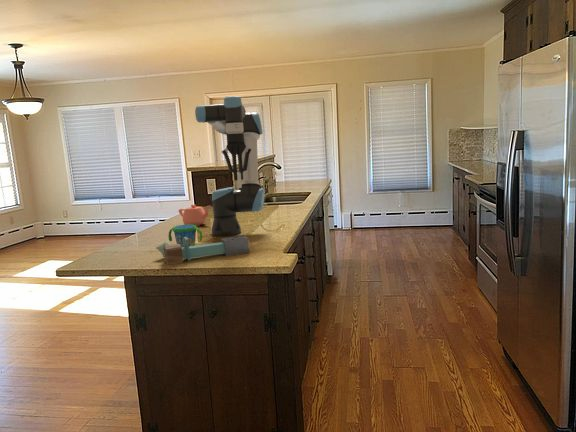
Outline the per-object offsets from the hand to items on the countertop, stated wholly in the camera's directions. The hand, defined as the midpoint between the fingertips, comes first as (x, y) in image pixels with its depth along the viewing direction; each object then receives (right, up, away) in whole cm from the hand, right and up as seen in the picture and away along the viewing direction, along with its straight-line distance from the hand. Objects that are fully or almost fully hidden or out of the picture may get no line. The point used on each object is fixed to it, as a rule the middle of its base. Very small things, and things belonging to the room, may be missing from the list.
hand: (239, 187), depth 203 cm
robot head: (-29, -30, -9) cm, 43 cm away
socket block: (-24, -31, -17) cm, 43 cm away
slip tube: (-14, -30, -13) cm, 35 cm away
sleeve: (-1, -28, -8) cm, 29 cm away
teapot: (-32, -18, +66) cm, 76 cm away
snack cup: (-25, -27, +6) cm, 37 cm away
